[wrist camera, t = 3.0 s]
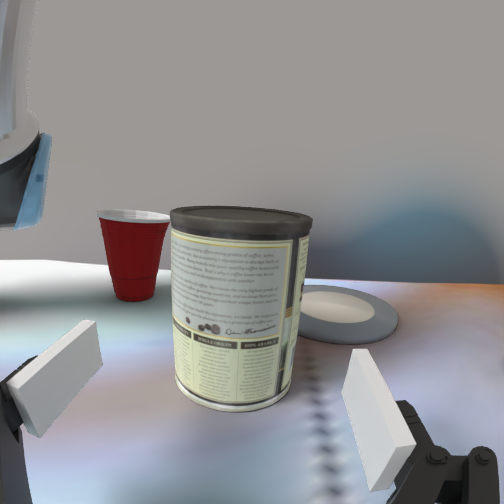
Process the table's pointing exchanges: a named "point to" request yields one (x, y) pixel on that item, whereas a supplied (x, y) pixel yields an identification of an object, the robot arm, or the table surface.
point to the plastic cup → (133, 250)
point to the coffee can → (236, 302)
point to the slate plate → (344, 315)
